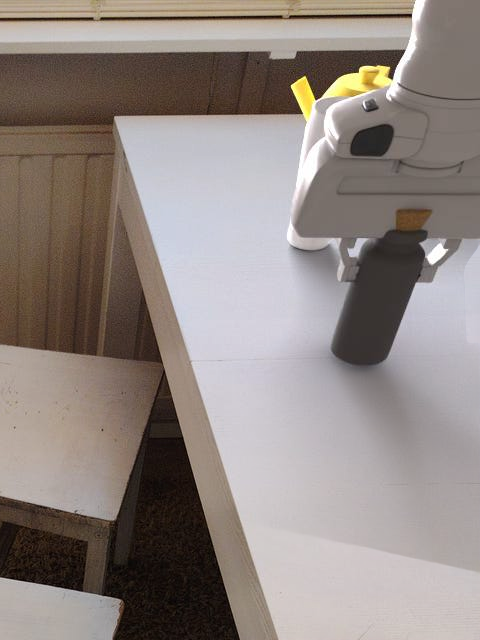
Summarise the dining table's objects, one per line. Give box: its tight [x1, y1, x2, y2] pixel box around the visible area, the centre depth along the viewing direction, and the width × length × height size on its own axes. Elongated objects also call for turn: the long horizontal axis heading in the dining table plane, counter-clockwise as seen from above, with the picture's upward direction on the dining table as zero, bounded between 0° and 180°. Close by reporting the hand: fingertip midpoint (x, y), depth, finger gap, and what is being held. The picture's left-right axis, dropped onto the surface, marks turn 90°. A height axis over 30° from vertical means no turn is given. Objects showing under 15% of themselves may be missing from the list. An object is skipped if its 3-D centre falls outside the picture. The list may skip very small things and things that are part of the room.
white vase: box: [286, 96, 353, 251], centre depth 97 cm, size 7×7×15 cm
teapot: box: [290, 65, 393, 133], centre depth 114 cm, size 20×18×11 cm
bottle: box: [330, 210, 433, 367], centre depth 80 cm, size 6×6×15 cm
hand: (382, 279), depth 80 cm, fingers closed on bottle, 6 cm apart
